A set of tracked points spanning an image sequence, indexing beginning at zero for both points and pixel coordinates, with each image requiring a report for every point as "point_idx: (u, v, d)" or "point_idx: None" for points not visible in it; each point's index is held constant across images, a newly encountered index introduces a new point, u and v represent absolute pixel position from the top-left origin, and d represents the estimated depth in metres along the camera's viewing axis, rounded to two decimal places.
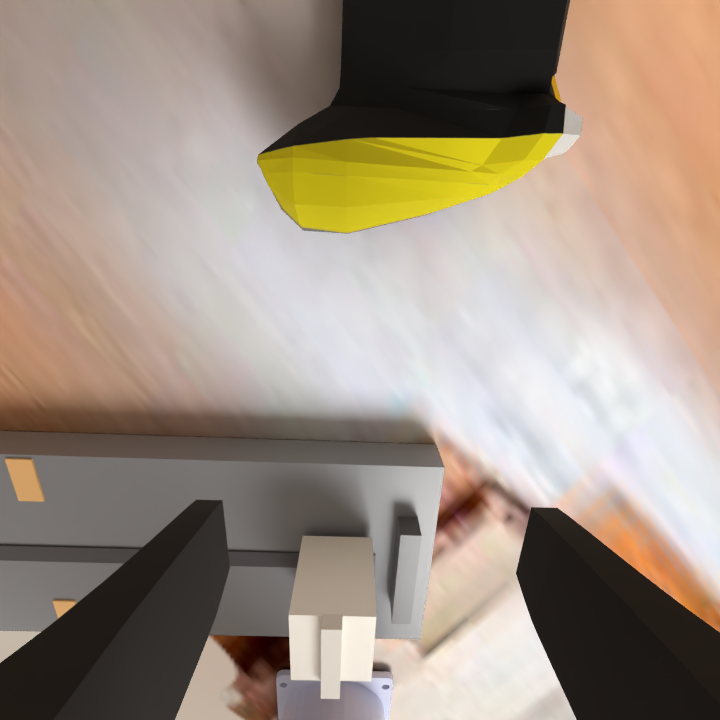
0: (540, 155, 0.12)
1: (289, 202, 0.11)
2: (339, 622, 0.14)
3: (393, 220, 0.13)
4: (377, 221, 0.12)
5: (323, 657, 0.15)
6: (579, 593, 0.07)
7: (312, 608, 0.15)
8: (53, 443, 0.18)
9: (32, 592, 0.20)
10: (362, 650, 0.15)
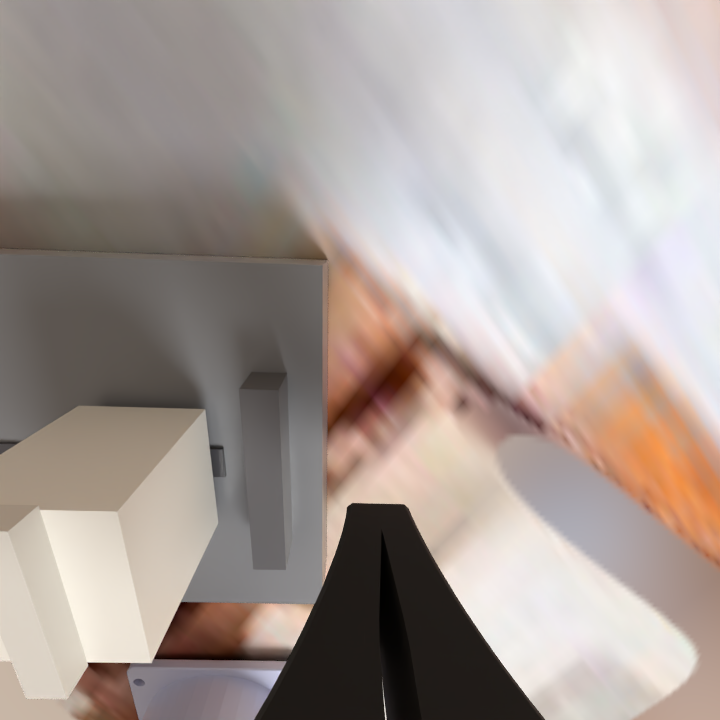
0: None
1: None
2: (15, 518, 0.06)
3: None
4: None
5: None
6: (387, 590, 0.07)
7: None
8: None
9: None
10: (111, 594, 0.07)
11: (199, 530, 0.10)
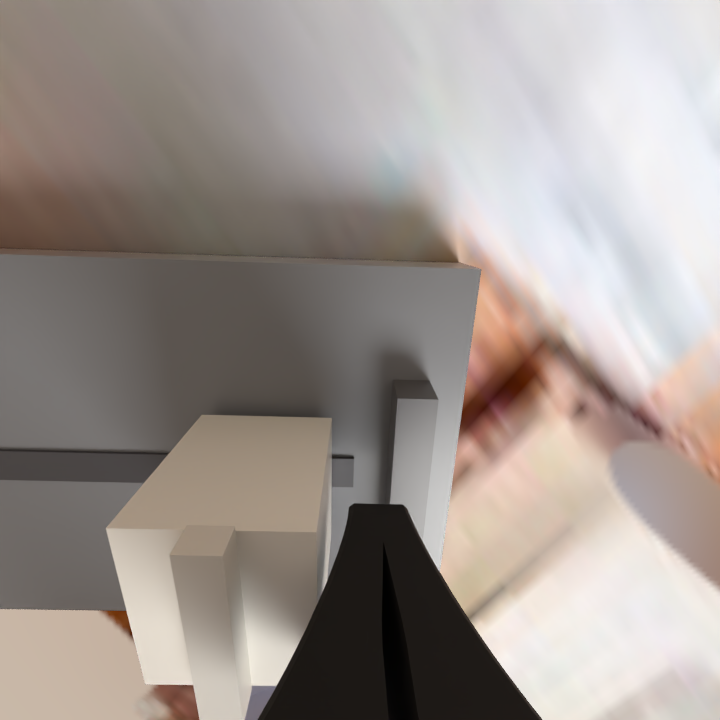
0: None
1: None
2: (221, 541, 0.06)
3: None
4: None
5: (188, 629, 0.06)
6: (385, 589, 0.07)
7: (169, 516, 0.06)
8: None
9: None
10: (291, 616, 0.07)
11: (328, 543, 0.10)
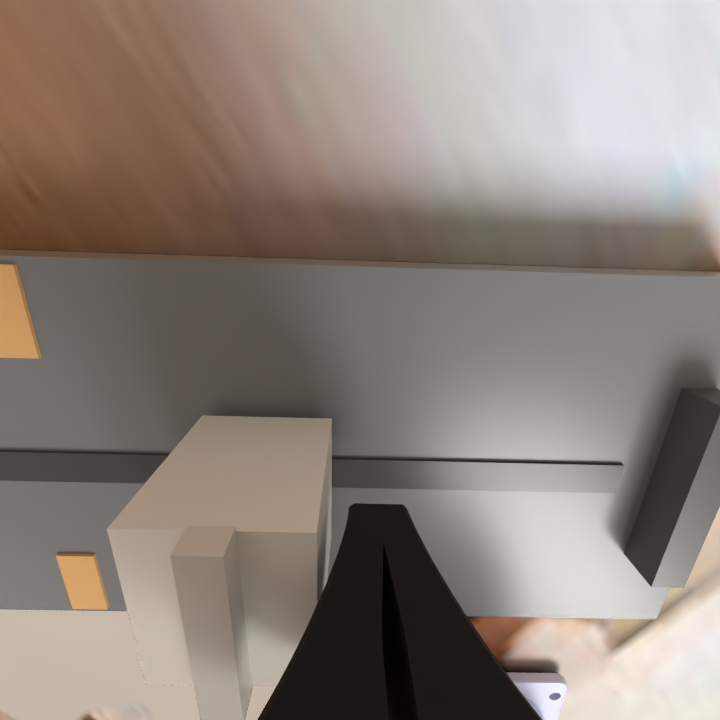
0: None
1: None
2: (221, 541, 0.06)
3: None
4: None
5: (189, 629, 0.06)
6: (385, 589, 0.07)
7: (170, 517, 0.06)
8: (56, 254, 0.10)
9: (22, 541, 0.12)
10: (292, 616, 0.07)
11: (328, 543, 0.10)
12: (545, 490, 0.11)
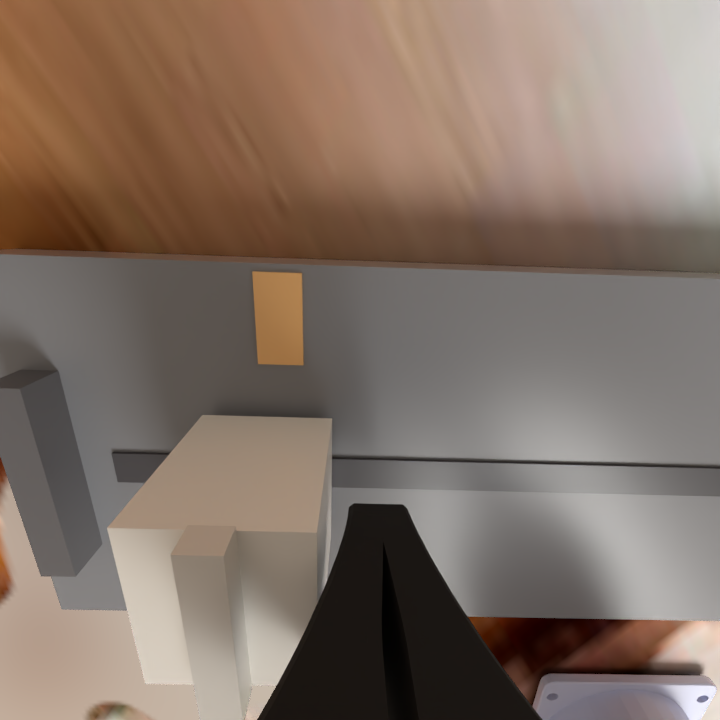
0: None
1: None
2: (222, 541, 0.06)
3: None
4: None
5: (189, 629, 0.06)
6: (385, 589, 0.07)
7: (170, 516, 0.06)
8: (317, 261, 0.10)
9: None
10: (291, 616, 0.07)
11: (328, 543, 0.10)
12: None
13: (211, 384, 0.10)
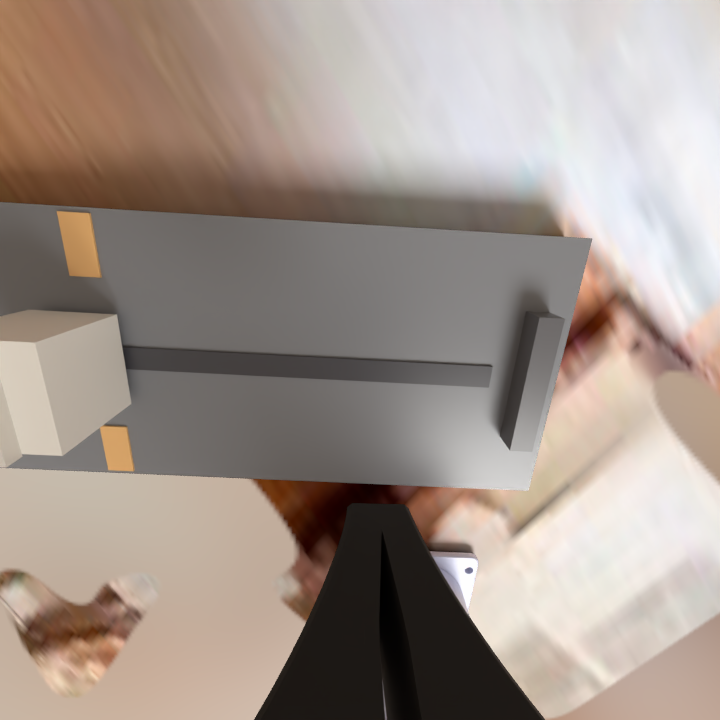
0: None
1: None
2: None
3: None
4: None
5: None
6: (387, 589, 0.07)
7: None
8: None
9: None
10: (34, 401, 0.12)
11: (110, 397, 0.15)
12: (440, 385, 0.16)
13: (41, 290, 0.15)
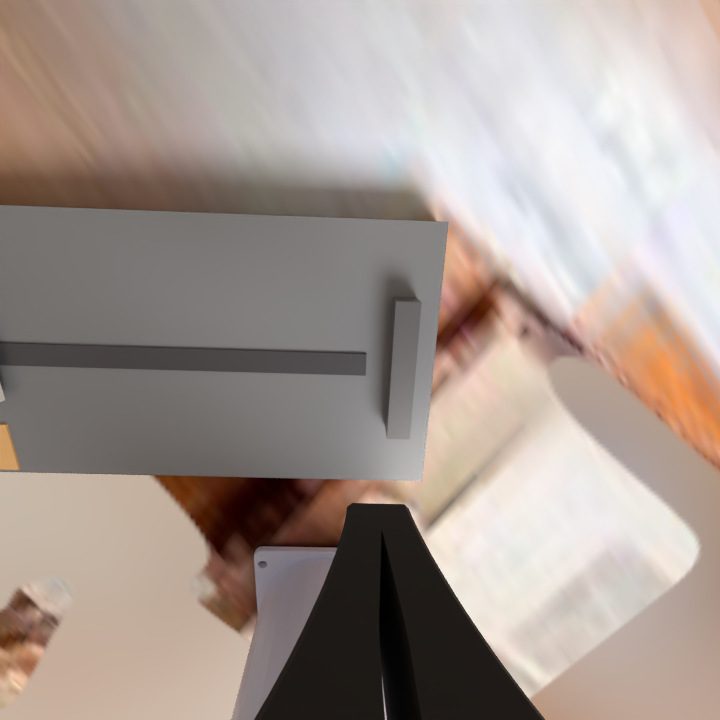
0: None
1: None
2: None
3: None
4: None
5: None
6: (387, 590, 0.07)
7: None
8: None
9: None
10: None
11: None
12: (317, 374, 0.16)
13: None
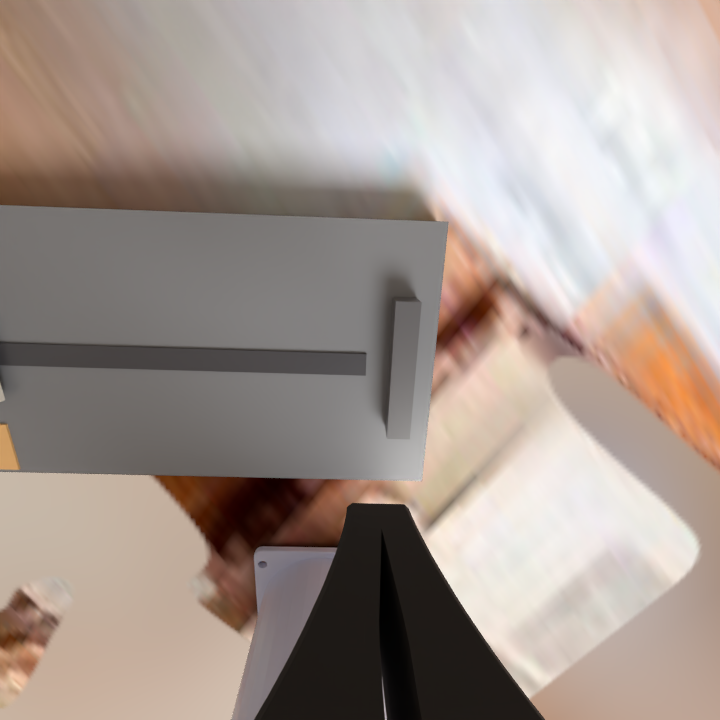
0: None
1: None
2: None
3: None
4: None
5: None
6: (387, 590, 0.07)
7: None
8: None
9: None
10: None
11: None
12: (317, 374, 0.16)
13: None
